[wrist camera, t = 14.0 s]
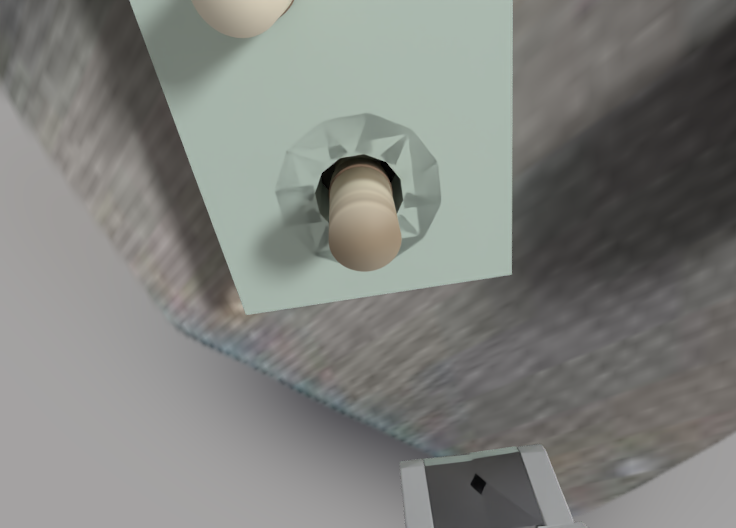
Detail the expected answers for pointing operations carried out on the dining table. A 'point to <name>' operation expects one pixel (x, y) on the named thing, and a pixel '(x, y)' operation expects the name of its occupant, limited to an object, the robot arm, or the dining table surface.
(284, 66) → the board
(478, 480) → the robot arm
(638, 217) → the dining table surface
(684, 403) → the dining table surface
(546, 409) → the dining table surface
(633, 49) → the dining table surface
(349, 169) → the peg
